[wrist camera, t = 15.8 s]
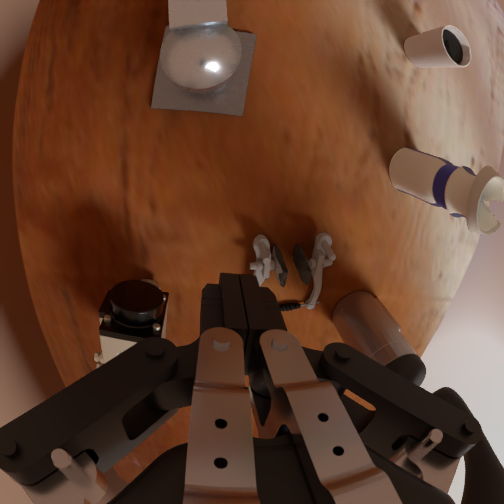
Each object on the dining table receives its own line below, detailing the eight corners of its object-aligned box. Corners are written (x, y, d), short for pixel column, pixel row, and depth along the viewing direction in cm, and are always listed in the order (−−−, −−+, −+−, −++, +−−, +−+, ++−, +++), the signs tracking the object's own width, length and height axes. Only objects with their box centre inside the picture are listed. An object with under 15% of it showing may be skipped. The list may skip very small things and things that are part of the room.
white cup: (424, 77, 34) (465, 76, 25) (396, 52, 32) (436, 44, 23) (435, 51, 32) (474, 47, 23) (408, 27, 30) (447, 16, 21)
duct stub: (255, 36, 30) (261, 25, 26) (241, 116, 35) (246, 115, 31) (167, 28, 28) (161, 16, 24) (152, 108, 33) (144, 106, 28)
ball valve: (122, 247, 41) (81, 321, 25) (175, 256, 43) (158, 336, 27) (122, 334, 48) (101, 412, 32) (166, 342, 50) (158, 423, 34)
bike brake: (244, 226, 41) (239, 321, 53) (250, 254, 36) (244, 350, 47) (332, 225, 43) (309, 315, 55) (349, 250, 38) (320, 342, 49)
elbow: (240, 89, 29) (245, 82, 24) (170, 98, 28) (160, 93, 23) (229, -37, 21) (232, -61, 15) (163, -30, 20) (156, -52, 14)
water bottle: (429, 151, 40) (548, 195, 18) (418, 197, 44) (527, 262, 21) (394, 137, 39) (525, 176, 16) (383, 188, 42) (501, 258, 20)
